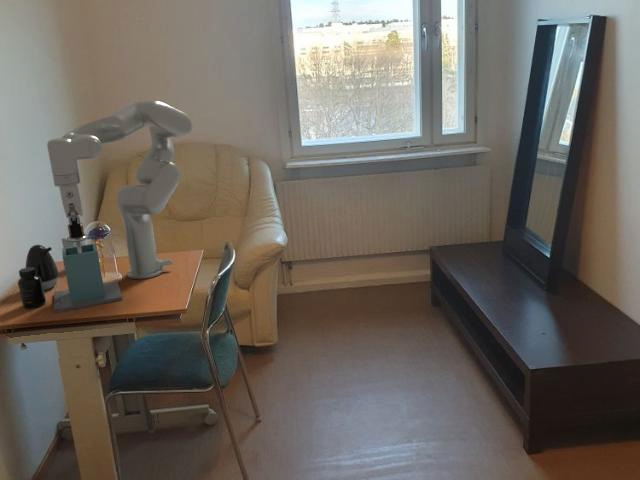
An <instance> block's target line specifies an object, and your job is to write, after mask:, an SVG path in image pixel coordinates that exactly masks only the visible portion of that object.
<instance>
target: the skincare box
mask: <svg viewBox="0 0 640 480" xmlns="http://www.w3.org/2000/svg"><path fill="white" fill-rule="evenodd" d="M67 237H69V235H68V236H65V237H62V238H61V242H62V247H63V248H69V247H75V246H77V244H76V242H67V239H66V238H67ZM80 244H81V245H84V244H83V241H80Z"/></svg>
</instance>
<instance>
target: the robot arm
mask: <svg viewBox="0 0 640 480" xmlns="http://www.w3.org/2000/svg"><path fill="white" fill-rule="evenodd" d="M145 127H146V128H147V127H148V129H149V133H150V138H151V146H150V148H149V150H148V152H147V154H146V155H145V156H144V158H143V160H142V161H141V162H140V165H139V166H138V167H137V170H136V172H135V180H136V182H137V183H138V184H126V185H124V186H122V187H121V188H120V189H119V190H118V191H117V195H116V204H117V208H118V210H119V212H120V215H121V219H122V222H123V223H122V224H123V229H124V235H125V242H126V247H127V254H128V255H127V257H128V262H129V268H130V269H128V270H127V271H126V276H127V278H129V279H133V280H141V279H149V278H153V277H156V276H158V275H161V274H162V273H164V271H165V270H164V266H170V265H173V262H172V259H171V258H170V259H167V258H163V259H159V257H158V254H157V245H156V240H155V233H154V226H153V221H152V218H151V216H153V215H157V214H159V213H161V212H162V211H163V210H164V208H165V207H166V205H167V204H168V202H169V200H170V199H171V197H172V195H173V194H174V192H175V191H176V188H177V187H178V185H179V183H180V178H181V176H180V175H181V174H180V169H179V167H178V166H177V164H176V163H174V162H172V161H173V159H174V157H175V147H174V144H173V140H172V138H177V139H179V138H186V137H187V136H188V135H190V134H191V132H192V129H193V123H192V120H191V118H190V116H189V115H187V114H186V113H185V112H184V111H181V110H180V109H176V107H173V106H170V105H169V104H167V103H165V102H162V101H159V100H138V101H134V102H132V103H130V104H128V105H126V106H124V107H123V108H121V109H119V110H117V111H116V112H114V113H112V114H110V115H107V116H105V117H102V118H99V119H96V120H94V121H91V122H88V123H84V124H83V125H81V126H78V127H76V128H74V129H72V130H70V131H68V132H67V133H65V134H64V135H63V136H61V137H58V138H54V139H50V140H48V142H47V150H48V157H49V162H50V167H51V173H52V178H53V183H54V185H53V186H55V187H58V188H59V193H60V197H61V202H62V203H61V204H62V207H63V210H64V213H65V217H66V218H67V219H68V223H69V224H70V225H69V224H68V225H69V226H70V232H71V237H72V238H75V237H81V236H82V230H81V224H80V223H81V219H80V217H83V215H84V212H83V208H82V206H83V205H82V200H81V195H80V190H79V186H78V184H80V183H81V177H80V171H79V170H80V169H79V165H78V160H91V159H94V158H96V157H97V158H98V156H99V155H100V154H101V152H102V149H103V145H102V144H106V143H113V142H117V141H121V140H122V141H123V140H124V139H126V138H127V137H129V136H131V135H133V134H134V133H136V132H138V131H139V130H141V129H143V128H145ZM150 215H151V216H150Z"/></svg>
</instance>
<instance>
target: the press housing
mask: <svg viewBox="0 0 640 480" xmlns="http://www.w3.org/2000/svg"><path fill="white" fill-rule="evenodd" d="M81 249H82V253H79V254H78V250H77V246H75V247H69V248H61V253H62V260H63V265H64V270H65V271H64V272H65V277H66V283H67V287H68V289H64V290H58V291H54V292H53V293H54V295H53V296H54V297H53V298H54V300H53V301H54V303H53V304H54V313H55V314H56V313H60V312H65V311H70V310H71V311H72V310H76V309H81V308H88V307H91V306H97V305H102V304H107V303H112V302H118V301H123V295H122V291H121V288H120V285H119V282H118V280H113V281H107V282H108V283H107V282H104V281H103V276H102V270H101V264H100V257H99V251H98V248H97V244H96V243H95V242H94V243H88V244H83V245H81Z"/></svg>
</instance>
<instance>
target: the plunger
mask: <svg viewBox="0 0 640 480" xmlns="http://www.w3.org/2000/svg"><path fill="white" fill-rule="evenodd" d="M80 224H81V230H82V236H81V237H75V238H72V237H71V232H70V226H69V225H70V224H67V230H68V236H69V237H67V236H66V237H67V238H66V239H67V242H76V244H77V250H78V254H79V253H82V249H81V244H80V241H82V242H83V241H86V240H88V239H89V235H88V234H87V233H85V230H84V225H83V222H80Z"/></svg>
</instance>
